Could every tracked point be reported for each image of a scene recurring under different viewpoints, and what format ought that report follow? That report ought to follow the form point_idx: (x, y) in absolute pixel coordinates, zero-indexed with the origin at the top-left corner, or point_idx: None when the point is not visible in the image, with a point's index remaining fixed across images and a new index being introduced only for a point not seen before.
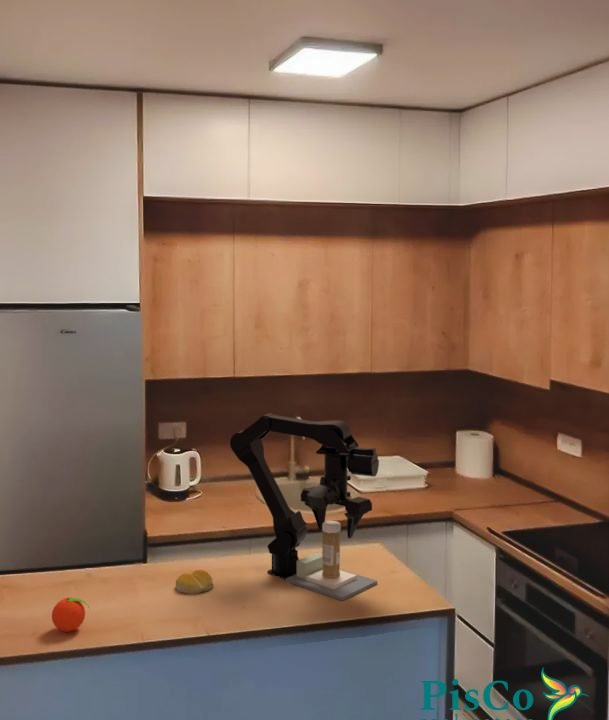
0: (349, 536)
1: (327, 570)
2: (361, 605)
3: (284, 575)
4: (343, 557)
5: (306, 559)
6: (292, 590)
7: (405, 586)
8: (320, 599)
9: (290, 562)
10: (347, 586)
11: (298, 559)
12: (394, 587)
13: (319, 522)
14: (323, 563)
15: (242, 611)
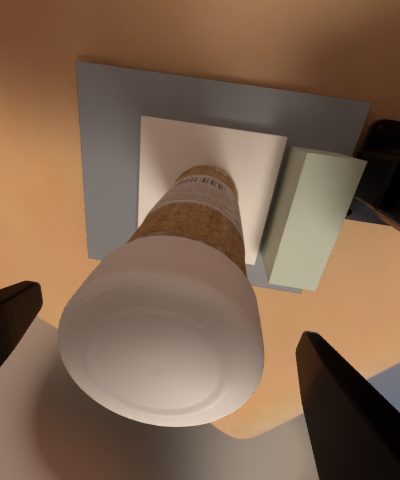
0: (10, 286)
1: (198, 171)
2: (11, 69)
3: (389, 136)
4: (269, 362)
5: (326, 201)
6: (298, 30)
7: (31, 273)
8: (152, 17)
9: (396, 156)
10: (126, 169)
11: (369, 202)
12: (45, 255)
13: (336, 385)
14: (220, 181)
15: None
